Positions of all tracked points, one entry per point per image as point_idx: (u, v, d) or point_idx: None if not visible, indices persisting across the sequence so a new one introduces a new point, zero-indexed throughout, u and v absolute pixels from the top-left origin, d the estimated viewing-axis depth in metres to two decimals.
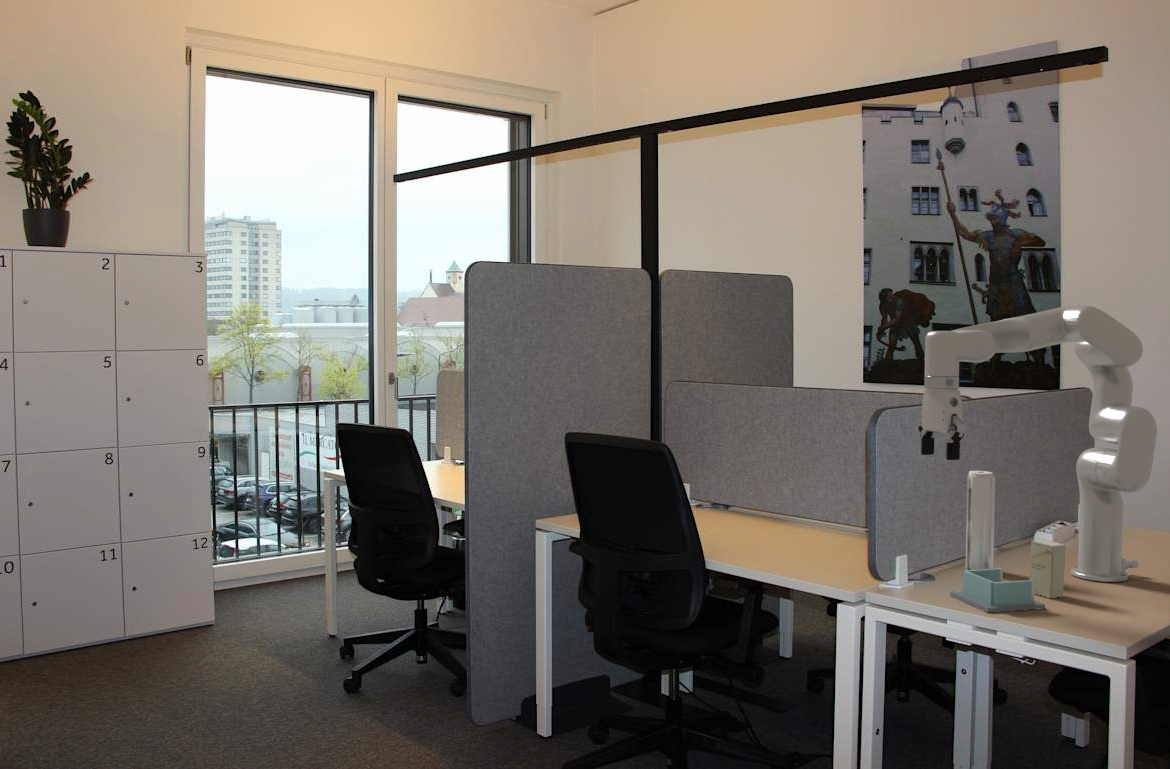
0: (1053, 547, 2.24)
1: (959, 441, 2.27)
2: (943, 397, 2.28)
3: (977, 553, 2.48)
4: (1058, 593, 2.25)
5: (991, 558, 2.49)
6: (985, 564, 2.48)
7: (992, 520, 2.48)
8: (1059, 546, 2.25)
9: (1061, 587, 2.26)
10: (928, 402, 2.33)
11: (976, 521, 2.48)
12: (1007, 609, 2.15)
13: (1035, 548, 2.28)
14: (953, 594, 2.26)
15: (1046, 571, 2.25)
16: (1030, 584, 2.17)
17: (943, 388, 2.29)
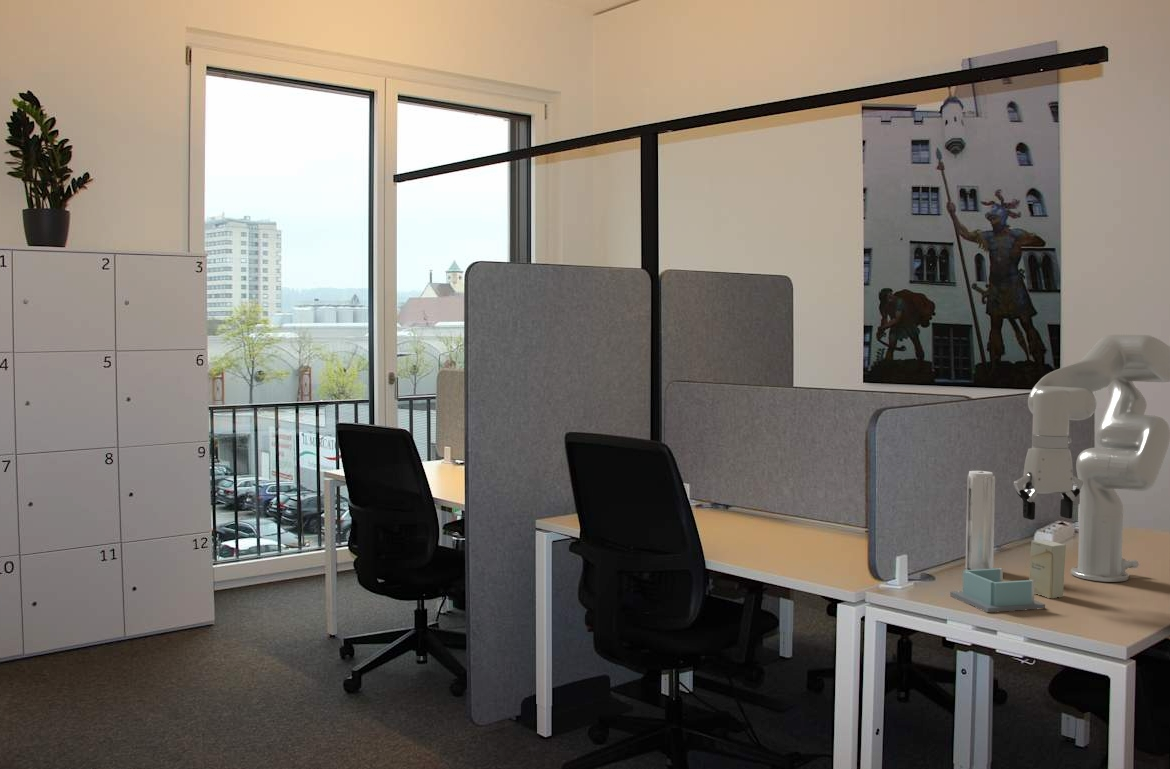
0: (1053, 547, 2.24)
1: None
2: (1070, 456, 2.25)
3: (977, 553, 2.48)
4: (1058, 593, 2.25)
5: (991, 558, 2.49)
6: (985, 564, 2.48)
7: (992, 520, 2.48)
8: (1059, 546, 2.25)
9: (1061, 587, 2.26)
10: (1051, 463, 2.24)
11: (976, 521, 2.48)
12: (1007, 609, 2.15)
13: (1035, 548, 2.28)
14: (953, 594, 2.26)
15: (1046, 571, 2.25)
16: (1030, 584, 2.17)
17: None
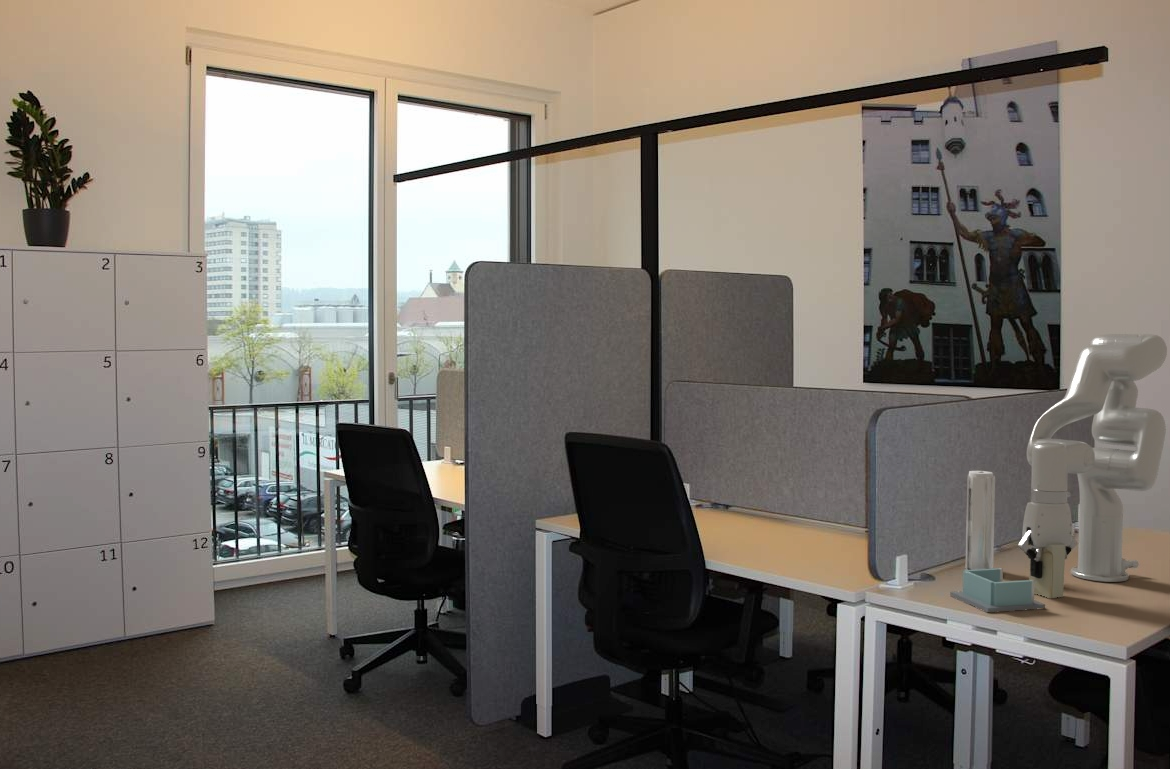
0: (1053, 547, 2.24)
1: None
2: (1069, 510, 2.26)
3: (977, 553, 2.48)
4: (1058, 593, 2.25)
5: (991, 558, 2.49)
6: (985, 564, 2.48)
7: (992, 520, 2.48)
8: (1059, 546, 2.25)
9: (1061, 587, 2.26)
10: (1050, 518, 2.24)
11: (976, 521, 2.48)
12: (1007, 609, 2.15)
13: None
14: (953, 594, 2.26)
15: (1046, 571, 2.25)
16: (1030, 584, 2.17)
17: None
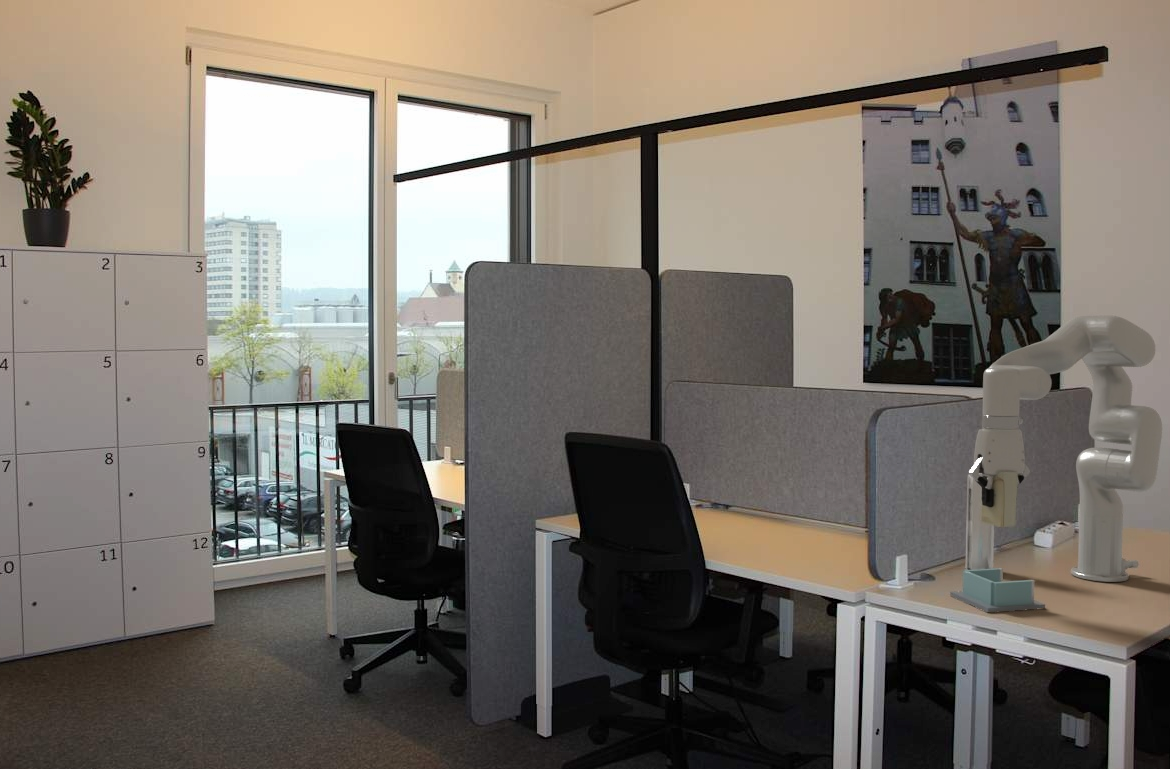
0: (1004, 474, 2.17)
1: None
2: (1021, 437, 2.19)
3: (977, 553, 2.48)
4: (1010, 522, 2.18)
5: (991, 558, 2.49)
6: (985, 564, 2.48)
7: None
8: (1011, 473, 2.17)
9: (1013, 516, 2.19)
10: (1001, 444, 2.17)
11: (976, 521, 2.48)
12: (1007, 609, 2.15)
13: None
14: (953, 594, 2.26)
15: (997, 499, 2.18)
16: (1030, 584, 2.17)
17: None
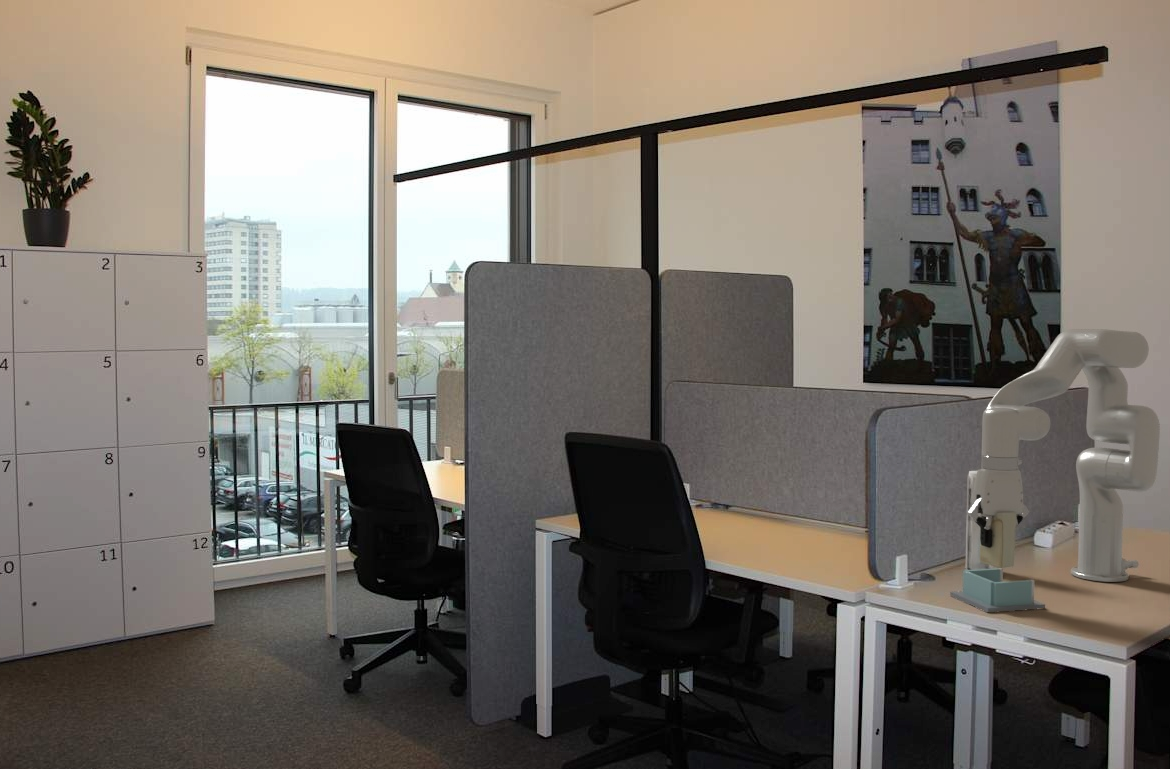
0: (1003, 515, 2.17)
1: None
2: (1020, 477, 2.19)
3: (977, 553, 2.48)
4: (1009, 562, 2.19)
5: None
6: (985, 564, 2.48)
7: None
8: (1009, 514, 2.18)
9: (1012, 556, 2.19)
10: (1000, 485, 2.18)
11: None
12: (1007, 609, 2.15)
13: None
14: (953, 594, 2.26)
15: (996, 539, 2.19)
16: (1030, 584, 2.17)
17: None
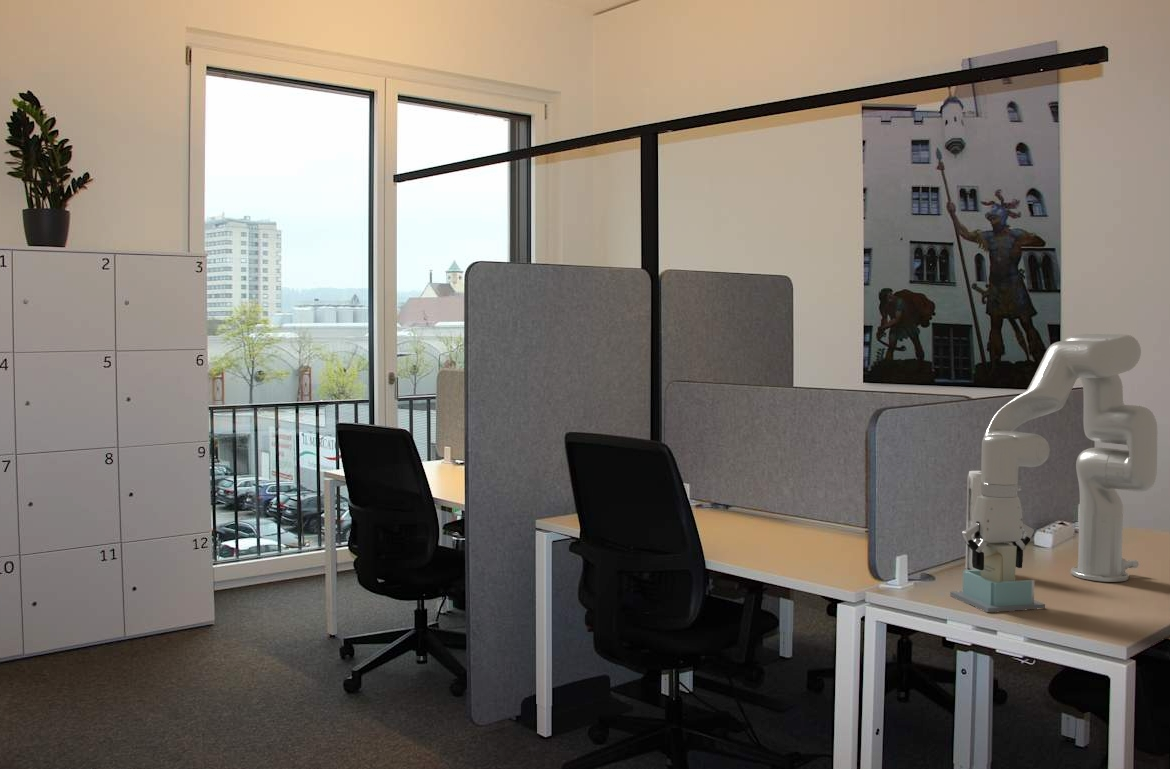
0: (1003, 548, 2.18)
1: None
2: (1019, 504, 2.19)
3: None
4: None
5: None
6: None
7: None
8: (1009, 548, 2.18)
9: None
10: (1000, 512, 2.18)
11: None
12: (1007, 609, 2.15)
13: (986, 549, 2.22)
14: (953, 594, 2.26)
15: (996, 573, 2.19)
16: (1030, 584, 2.17)
17: None
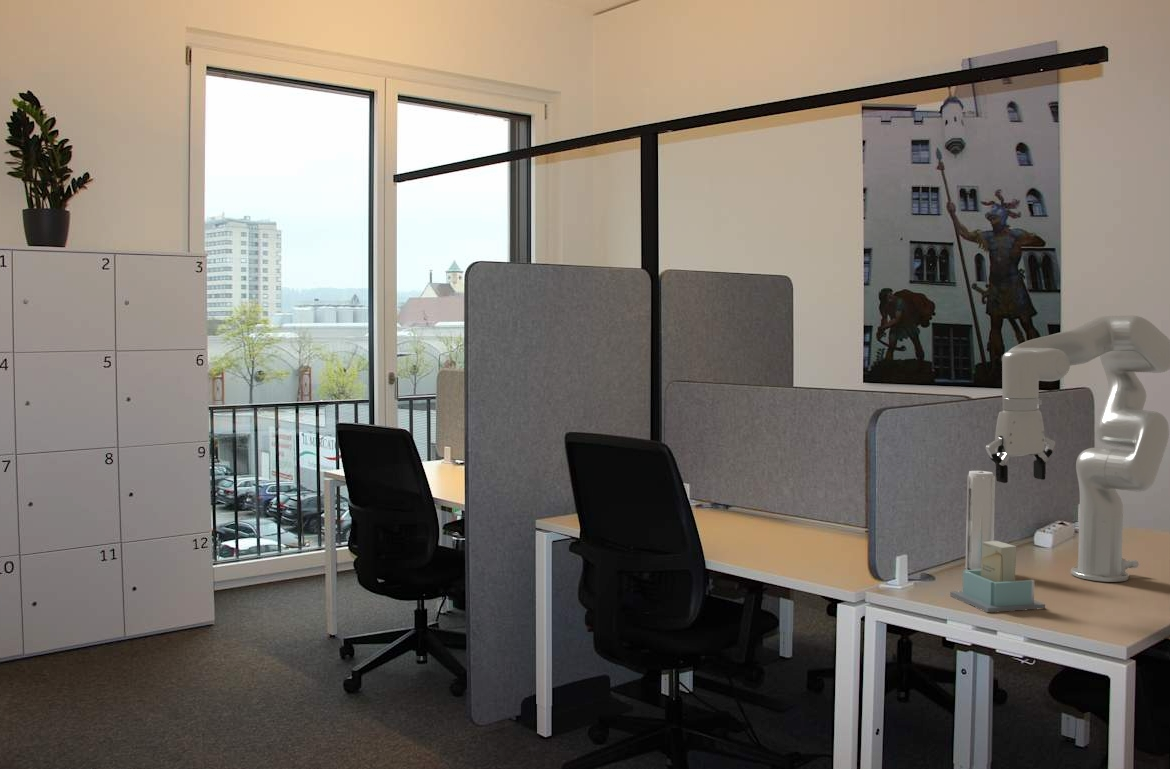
0: (1003, 548, 2.18)
1: None
2: (1041, 417, 2.24)
3: (977, 553, 2.48)
4: None
5: None
6: None
7: (992, 520, 2.48)
8: (1009, 548, 2.18)
9: None
10: (1022, 426, 2.23)
11: (976, 521, 2.48)
12: (1007, 609, 2.15)
13: (986, 549, 2.22)
14: (953, 594, 2.26)
15: (996, 573, 2.19)
16: (1030, 584, 2.17)
17: (1038, 408, 2.24)
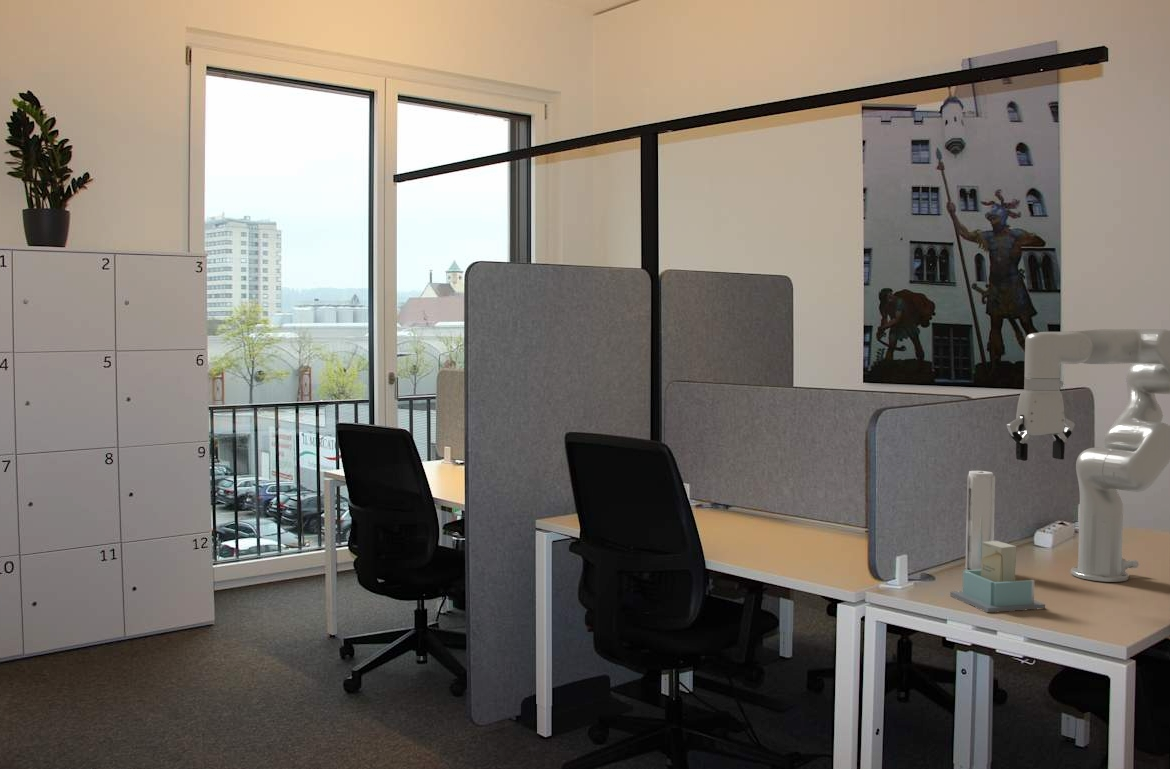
0: (1003, 548, 2.18)
1: None
2: (1061, 398, 2.31)
3: (977, 553, 2.48)
4: None
5: None
6: None
7: (992, 520, 2.48)
8: (1009, 548, 2.18)
9: None
10: (1043, 405, 2.29)
11: (976, 521, 2.48)
12: (1007, 609, 2.15)
13: (986, 549, 2.22)
14: (953, 594, 2.26)
15: (996, 573, 2.19)
16: (1030, 584, 2.17)
17: None
